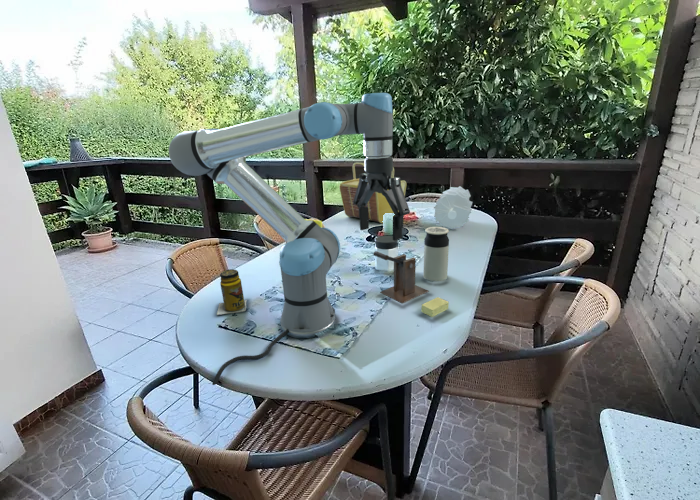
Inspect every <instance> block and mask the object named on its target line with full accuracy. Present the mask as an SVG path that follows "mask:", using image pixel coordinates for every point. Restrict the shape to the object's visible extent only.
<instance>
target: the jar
mask: <svg viewBox="0 0 700 500" xmlns="http://www.w3.org/2000/svg"><path fill="white" fill-rule="evenodd" d="M398 245H399V242H398V240H395V241H394V240H393V235H380V236H377V237H376V238H374V252H375V251H377V252H380V253H382V254H385V255H388V256H389V257H392V258H394V257H397V256H399V247H398ZM374 267H375V270H376V271H382V272H383V271H384V272H391V271H394V262H393V261H390V260H384V259H381V258H379V257H376V256H374Z"/></svg>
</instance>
